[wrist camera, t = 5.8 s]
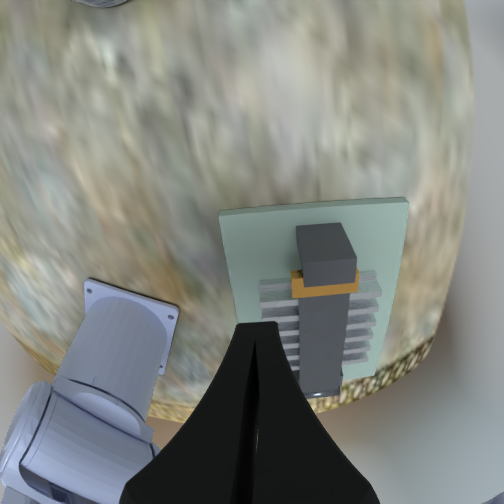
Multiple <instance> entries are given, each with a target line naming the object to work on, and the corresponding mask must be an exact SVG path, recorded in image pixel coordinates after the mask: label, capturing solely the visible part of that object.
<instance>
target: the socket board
mask: <svg viewBox="0 0 504 504" xmlns="http://www.w3.org/2000/svg"><path fill="white" fill-rule="evenodd" d="M408 208H409V202H408V201H407V199H406V198H405V197H398V198H377V199H358V200H342V201H326V202H312V203H299V204H286V205H274V206H263V207H252V208H241V209H231V210H221V211H219V215H218V218H219V224H220V229H221V235H222V240H223V246H224V251H225V257H226V262H227V268H228V273H229V278H230V284H231V289H232V294H233V299H234V305H235V310H236V315H237V320H238V323H248V322H262V308H261V307H260V280H268V279H281V278H291V275H290V270H301V269H302V273H303V283H304V288H305V287H316V286H327V285H337V284H347V283H355V278H356V267H357V268H358V270H359V271H368V270H375V272H376V275H377V276H376V278H377V280H378V283H379V285H380V287H381V289H382V295H381V297H376V300H377V302H378V305H379V311H378V312H374V316H375V319H376V326H373V327H371V328H372V331H373V334H374V335H373V339H369V342H370V346H371V348H370V351H366V352H367V355H368V361H367V362H362V363H355V364H348V365H342V366H341V373H340V380H339V385H340V387H341V385H342V380H347V379H354V378H361V377H368V376H374V374H375V371H376V367H377V364H378V360H379V357H380V353H381V349H382V346H383V342H384V338H385V334H386V330H387V326H388V322H389V318H390V313H391V309H392V304H393V300H394V295H395V290H396V285H397V280H398V275H399V269H400V264H401V258H402V252H403V245H404V239H405V232H406V224H407V216H408ZM292 371H293V374H294V376H295V378H296V380H297V382H298V384H299V370H292Z"/></svg>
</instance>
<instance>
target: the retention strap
mask: <svg viewBox="0 0 504 504" xmlns="http://www.w3.org/2000/svg"><path fill="white" fill-rule="evenodd" d="M290 275H291V292H292V298H298V318H299V386H300V388H301V390H302V392H303V394H304V396H305V398H306V399H310V398H320V397H328V396H337V395H340V385H339V380H340V373H341V366H342V359H343V352H344V344H345V336H346V328H347V319H348V310H349V299H350V293H354V292H358V285H359V275H360V273H359V270H358V268H357V267H356V278H355V283H347V284H337V285H327V286H316V287H305V288H304V283H303V273H302V269H301V270H290Z"/></svg>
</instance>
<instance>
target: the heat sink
mask: <svg viewBox="0 0 504 504" xmlns="http://www.w3.org/2000/svg"><path fill="white" fill-rule="evenodd" d="M359 273H360V275H359V285H358V292H354V293H350V299H349V310H348V319H347V328H346V336H345V344H344V352H343V359H342V365H348V364H355V363H362V362H367V361H368V355H367V352H366V351H370V348H371V346H370V342H369V339H373V335H374V334H373V331H372V328H371V327H373V326H376V319H375V316H374V312H378V311H379V305H378V302H377V300H376V297H381V295H382V289H381V287H380V285H379V283H378V280H377V278H376V276H377V275H376V272H375V270H368V271H359ZM260 307H261V308H262V322H265V321H276V322H277V323H278V329H279V334H280V338H281V342H282V345H283V348H284V351H285V354H286V357H287V359H288V362H289V364H290V367H291V369H292V370H299V318H298V298H292V292H291V278H281V279H268V280H260Z"/></svg>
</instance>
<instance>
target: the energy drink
mask: <svg viewBox="0 0 504 504" xmlns="http://www.w3.org/2000/svg"><path fill="white" fill-rule="evenodd" d="M73 1H76V2H80V3H83V4H86V5H89V6H93V7H99V8H104V7H111V6H115V5H118V4H121V3H123V2H125V1H127V0H73Z"/></svg>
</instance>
